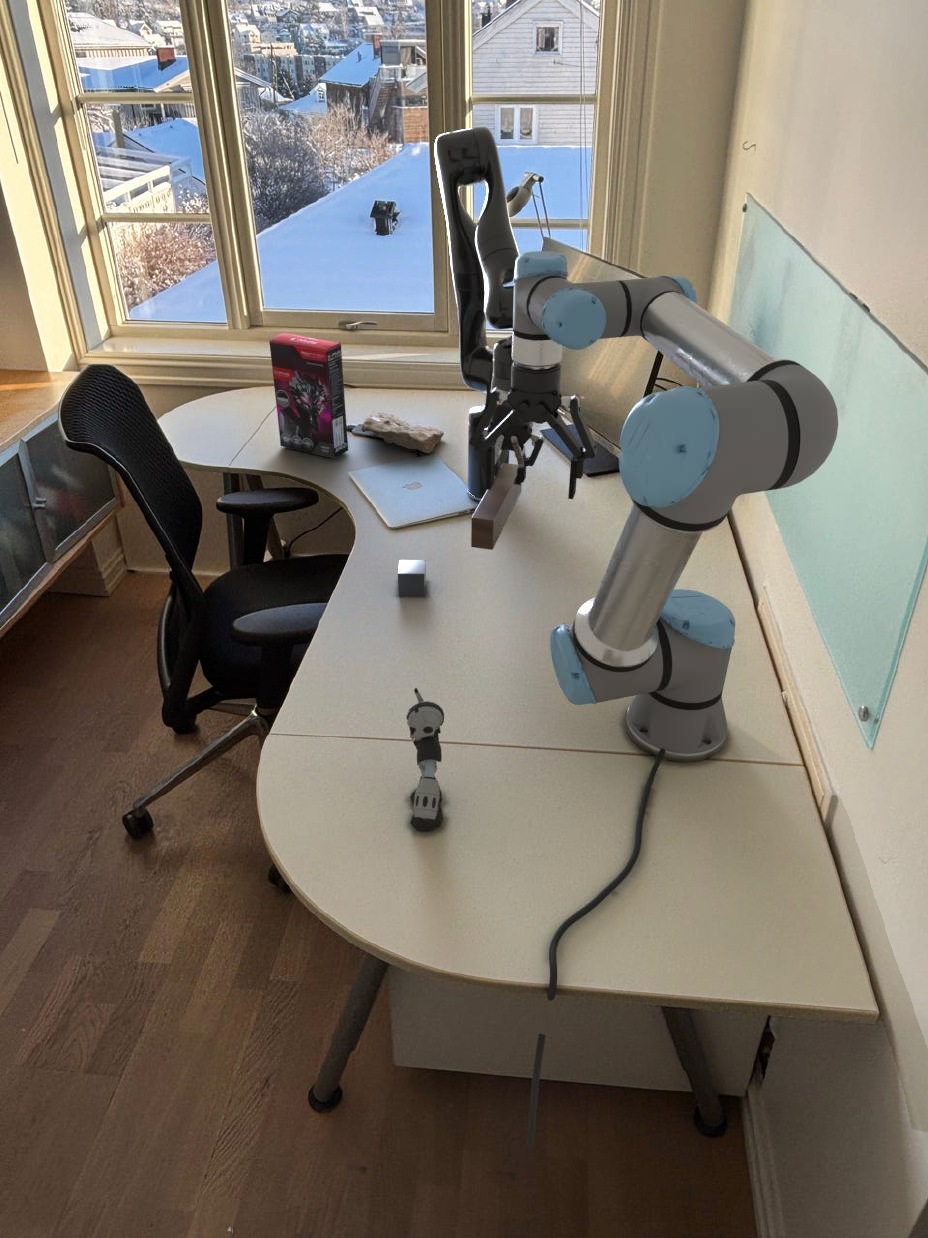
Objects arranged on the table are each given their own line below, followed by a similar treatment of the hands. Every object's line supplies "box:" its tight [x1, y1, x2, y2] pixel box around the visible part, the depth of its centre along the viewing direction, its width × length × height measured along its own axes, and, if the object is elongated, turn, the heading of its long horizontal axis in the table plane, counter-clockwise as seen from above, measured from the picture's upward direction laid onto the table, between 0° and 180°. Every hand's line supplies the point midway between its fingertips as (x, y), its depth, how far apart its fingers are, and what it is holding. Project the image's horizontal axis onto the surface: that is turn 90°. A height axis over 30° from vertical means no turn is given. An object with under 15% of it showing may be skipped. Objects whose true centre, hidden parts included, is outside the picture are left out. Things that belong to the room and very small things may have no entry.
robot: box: [405, 687, 445, 833], centre depth 123 cm, size 20×5×20 cm, turn 3°
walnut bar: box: [470, 463, 522, 551], centre depth 174 cm, size 24×4×6 cm, turn 165°
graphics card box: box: [268, 332, 349, 459], centre depth 224 cm, size 17×7×27 cm, turn 62°
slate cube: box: [397, 559, 427, 597], centre depth 176 cm, size 5×5×5 cm
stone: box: [360, 412, 444, 454], centre depth 233 cm, size 21×15×6 cm
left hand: (507, 481), depth 180 cm, fingers closed on walnut bar, 4 cm apart
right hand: (530, 491), depth 150 cm, fingers open, 13 cm apart
